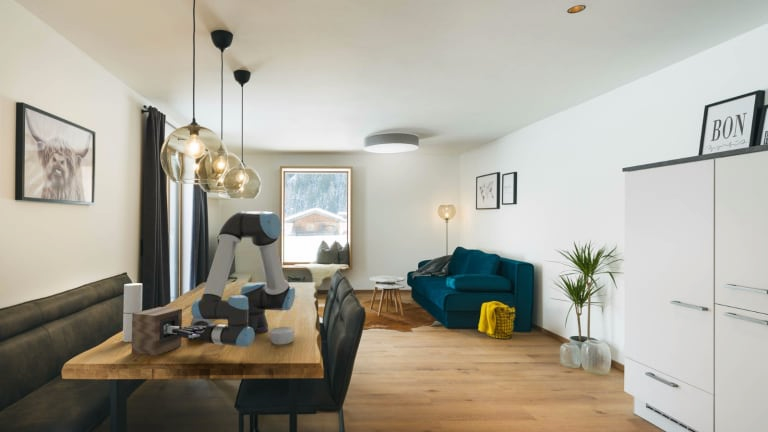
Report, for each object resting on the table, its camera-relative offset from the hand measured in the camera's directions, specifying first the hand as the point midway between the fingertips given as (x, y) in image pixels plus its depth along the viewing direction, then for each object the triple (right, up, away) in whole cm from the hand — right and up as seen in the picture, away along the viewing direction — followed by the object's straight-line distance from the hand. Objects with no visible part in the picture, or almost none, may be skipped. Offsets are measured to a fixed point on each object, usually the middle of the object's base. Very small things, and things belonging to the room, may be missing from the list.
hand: (168, 329), depth 172 cm
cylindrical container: (-25, -9, +16) cm, 31 cm away
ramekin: (+43, -10, +15) cm, 47 cm away
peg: (-6, -2, +2) cm, 7 cm away
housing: (-6, -9, +2) cm, 11 cm away
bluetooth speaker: (+3, -10, +24) cm, 26 cm away
